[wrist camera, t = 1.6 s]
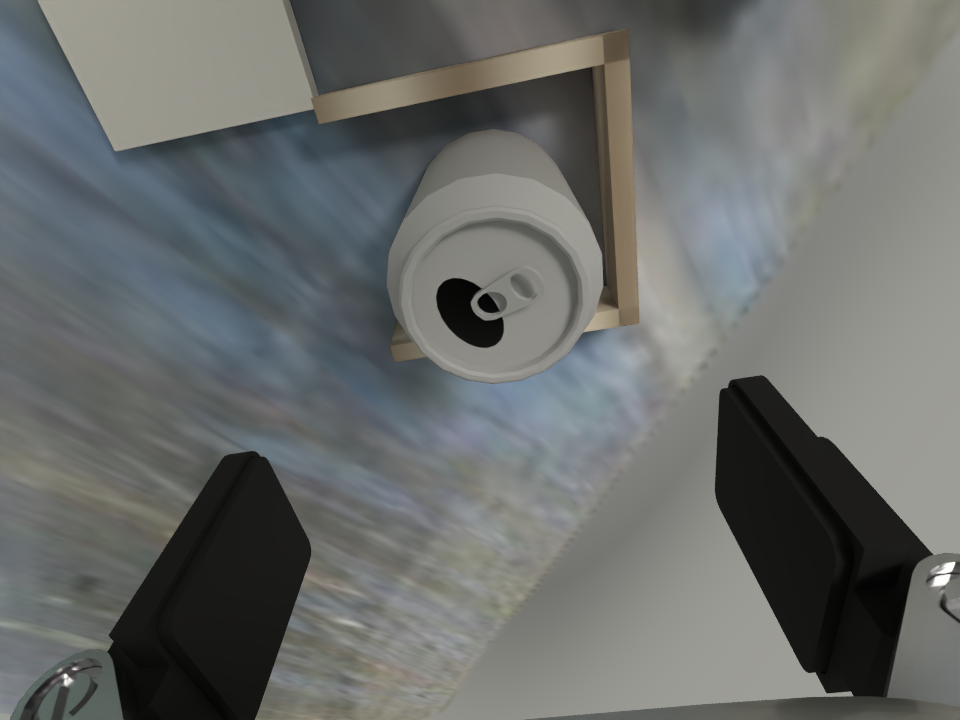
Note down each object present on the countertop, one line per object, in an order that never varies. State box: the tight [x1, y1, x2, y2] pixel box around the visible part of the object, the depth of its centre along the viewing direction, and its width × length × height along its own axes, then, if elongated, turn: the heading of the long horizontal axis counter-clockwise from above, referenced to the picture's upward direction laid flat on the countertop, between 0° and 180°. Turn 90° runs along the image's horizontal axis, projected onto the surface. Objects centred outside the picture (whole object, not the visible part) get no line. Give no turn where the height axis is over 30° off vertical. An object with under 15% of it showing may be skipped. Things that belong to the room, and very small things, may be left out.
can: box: [386, 129, 603, 384], centre depth 22 cm, size 8×8×12 cm
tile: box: [37, 0, 319, 152], centre depth 22 cm, size 10×10×1 cm
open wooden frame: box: [311, 30, 639, 362], centre depth 26 cm, size 13×13×3 cm
